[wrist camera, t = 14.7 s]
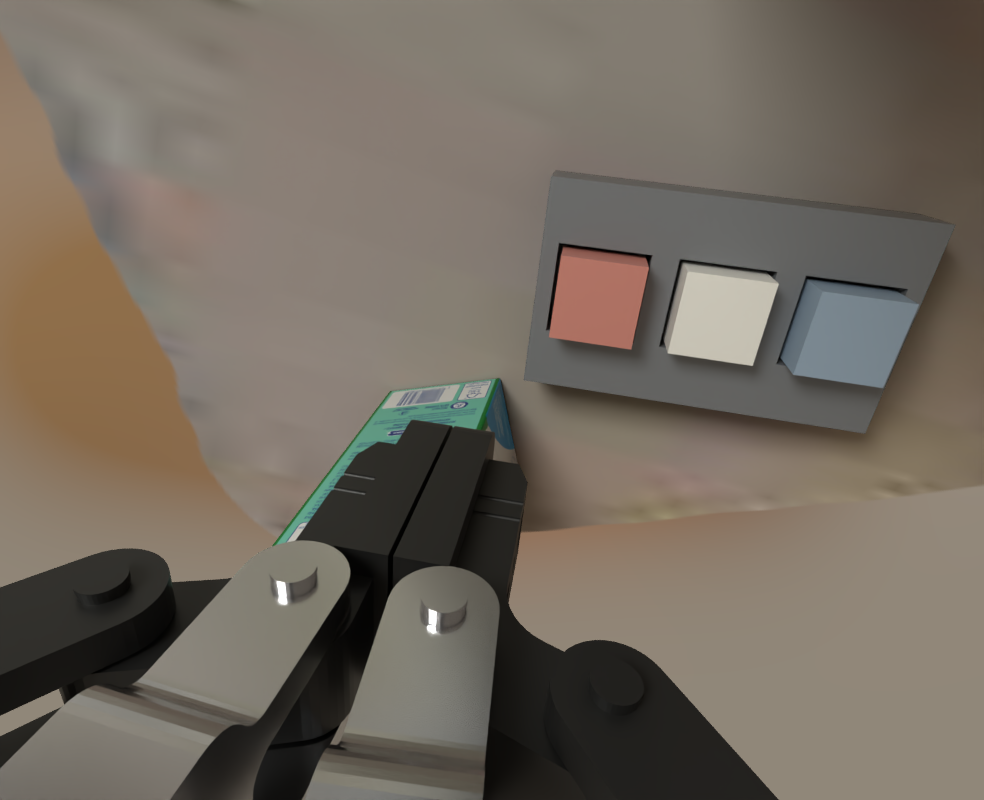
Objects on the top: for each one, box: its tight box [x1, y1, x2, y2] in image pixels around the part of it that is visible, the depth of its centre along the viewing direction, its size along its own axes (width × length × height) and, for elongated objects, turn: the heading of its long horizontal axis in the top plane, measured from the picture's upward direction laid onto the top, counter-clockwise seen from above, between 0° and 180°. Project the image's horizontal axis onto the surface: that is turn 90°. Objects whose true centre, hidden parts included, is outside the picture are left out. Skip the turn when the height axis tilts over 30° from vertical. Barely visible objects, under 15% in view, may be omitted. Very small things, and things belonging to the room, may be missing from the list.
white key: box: [663, 260, 779, 366], centre depth 36 cm, size 5×5×3 cm
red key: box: [549, 246, 649, 349], centre depth 36 cm, size 5×5×3 cm
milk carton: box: [272, 378, 518, 546], centre depth 36 cm, size 9×9×25 cm
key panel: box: [524, 171, 955, 434], centre depth 38 cm, size 13×22×4 cm, turn 84°
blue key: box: [780, 278, 919, 388], centre depth 35 cm, size 5×5×3 cm
